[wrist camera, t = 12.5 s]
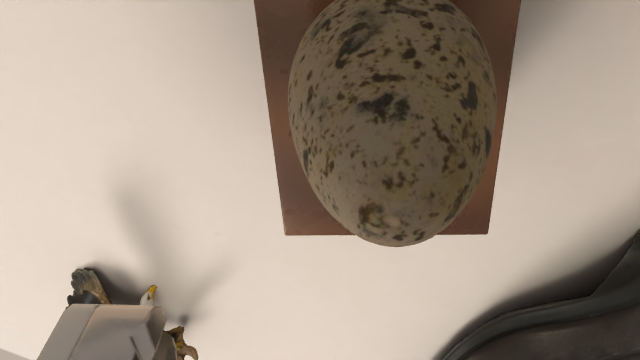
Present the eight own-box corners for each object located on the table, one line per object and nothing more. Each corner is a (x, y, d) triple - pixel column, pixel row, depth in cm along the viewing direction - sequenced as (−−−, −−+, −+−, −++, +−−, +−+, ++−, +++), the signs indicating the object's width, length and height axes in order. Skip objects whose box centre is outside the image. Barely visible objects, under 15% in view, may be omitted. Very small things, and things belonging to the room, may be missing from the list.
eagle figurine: (217, 298, 38) (82, 259, 34) (185, 408, 36) (37, 379, 32) (184, 300, 45) (68, 267, 41) (155, 394, 42) (29, 368, 38)
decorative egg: (402, 142, 22) (423, 352, 14) (271, 63, 21) (209, 249, 12) (508, 19, 19) (615, 197, 11) (364, -85, 17) (363, 34, 9)
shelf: (262, -257, 22) (217, -272, 15) (502, -278, 21) (564, -304, 14) (301, 143, 32) (284, 236, 25) (462, 139, 31) (488, 235, 25)
